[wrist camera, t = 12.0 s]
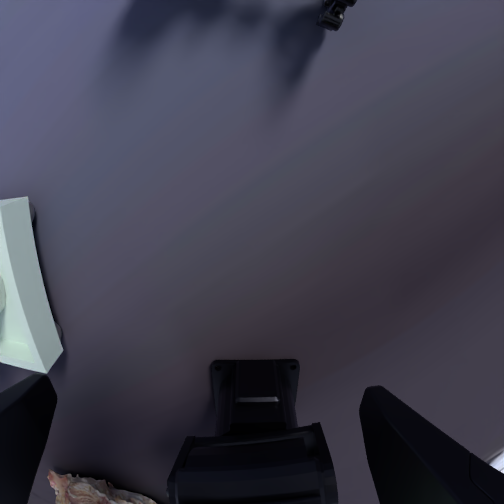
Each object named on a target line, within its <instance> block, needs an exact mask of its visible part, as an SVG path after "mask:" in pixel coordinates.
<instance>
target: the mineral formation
mask: <svg viewBox="0 0 504 504" xmlns="http://www.w3.org/2000/svg"><path fill="white" fill-rule="evenodd" d="M48 474H49V475H48V476H47V477H48V479H49V482H50V485H51V487H52V488H54V489H55V490H56V495H58V496H57V497H56V501H55V502H56V504H70V503H71V504H157V503H156V502H155V501H153V500H152V499H149V498H147V497H146V496H143V495H142V494H138V493H133V492H128V491H126V490H117V489H116V488H114V486H113V485H112V484H111V483H110V482H108V485H109V487H108V486H107V484H106V481H105V479H104V480H95V479H93V478H91V477H90V478H85V477H84V478H80V477H79V476H78V474H77V476H76V477H75V478H74V477H72V475H71V474H65V475H59V474H58V473H55V472H54V471H53V470H50V469H49V473H48ZM109 488H110V489H109Z"/></svg>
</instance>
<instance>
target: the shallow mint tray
mask: <svg viewBox="0 0 504 504" xmlns="http://www.w3.org/2000/svg"><path fill="white" fill-rule="evenodd" d="M34 216H35V210H34V206H33V205H32V203H31V202H30V201H28V197H20V198H12V199H5V200H0V274H1V276H2V279H3V281H4V285H5V289H6V297H7V298H6V305H5V308H4V309H3V310H2V311H1V312H0V362H2V363H5V364H9V365H13V366H17V367H21V368H25V369H29V370H33V371H38V372H42V373H48V371H49V370H50V368H51V367H52V366H53V364H54V363H55V361H56V360H57V359H58V357H59V356H60V354H61V353H62V352H63V348H62V345H61V342H60V340H61V337H62V331H61V328H60V326H59V325H58V324H57V323H56V322H54V320H53V317H52V314H51V310H50V307H49V303H48V299H47V296H46V292H45V288H44V284H43V280H42V275H41V271H40V267H39V262H38V257H37V252H36V247H35V242H34V236H33V230H32V224H31V223H32V221H33V219H34Z"/></svg>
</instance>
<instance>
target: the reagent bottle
mask: <svg viewBox="0 0 504 504" xmlns="http://www.w3.org/2000/svg"><path fill="white" fill-rule="evenodd" d="M6 298H7V297H6V289H5V285H4V281H3V279H2V276H1V274H0V312H1V311H2V310H3V309H4V308H5V305H6Z"/></svg>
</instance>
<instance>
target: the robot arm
mask: <svg viewBox="0 0 504 504" xmlns="http://www.w3.org/2000/svg"><path fill="white" fill-rule="evenodd" d="M291 365H295V366H293V367H291ZM216 366H220V367H219V368H218V367H216ZM211 369H212V380H213V390H214V400H215V409H216V416H217V420H216V431H215V437H195V436H187V437H186V439H185V441H184V444H183V446H182V448H181V450H180V452H179V455H178V457H177V459H176V462H175V464H174V466H173V468H172V471H171V473H170V475H169V478H168V480H167V486H168V488H167V490H166V493H167V496H168V497H169V501H170V504H338V491H337V483H336V477H335V472H334V467H333V462H332V459H331V455H330V452H329V449H328V446H327V443H326V440H325V437H324V433H323V430H322V427H321V424H320V422H318V423H312V425H309V426H303V427H298V424H297V418H296V412H295V402H296V394H297V386H298V378H299V370H300V365H299V362H298V360H296V359H279V360H215V361H213V363H212V367H211ZM56 404H57V394H56V392H55V390H54V388H53V385H52V383H51V381H50V379H49V377H48V376H47V375H44V374H40V373H35V374H33V375H31V376H29V377H27V378H26V379H24V380H22V381H20V382H19V383H17V384H15V385H13V386H12V387H10V388H8V389H6V390H5V391H3V392H1V393H0V504H27V503H28V500H29V496H30V493H31V489H32V486H33V483H34V479H35V476H36V473H37V470H38V467H39V463H40V460H41V457H42V455H43V452H44V449H45V446H46V443H47V439H48V435H49V431H50V427H51V423H52V419H53V416H54V412H55V408H56ZM359 415H360V421H361V426H362V432H363V437H364V443H365V449H366V455H367V460H368V464H369V467H370V471H371V474H372V478H373V481H374V484H375V488H376V491H377V495H378V498H379V502H380V504H504V474H503V473H502V472H500V471H498V470H497V469H495V468H493V467H492V466H490V465H489V464H487V463H486V462H484V461H483V460H481V459H480V458H478V457H477V456H476V455H474V454H473V453H470V451H468V450H467V449H466V448H464V447H463V446H462V445H460V444H459V443H457V442H456V441H455V440H453V439H452V438H451V437H449V436H448V435H447V434H445V433H444V432H442V431H441V430H440V429H438V428H437V427H436V426H434V425H433V424H432V423H430V422H429V421H428V420H426V419H425V418H424V417H422V416H421V415H420V414H418V413H417V412H416V411H414V410H413V409H412V408H410V407H409V406H408V405H406V404H405V403H404V402H402V401H401V400H400V399H398V398H397V397H396V396H394V395H393V394H392V393H390V392H389V391H388V390H386V389H385V388H384V387H382V386H379V385H378V386H371V387H367V388H366V389H365V392H364V395H363V398H362V401H361V405H360V408H359Z"/></svg>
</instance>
